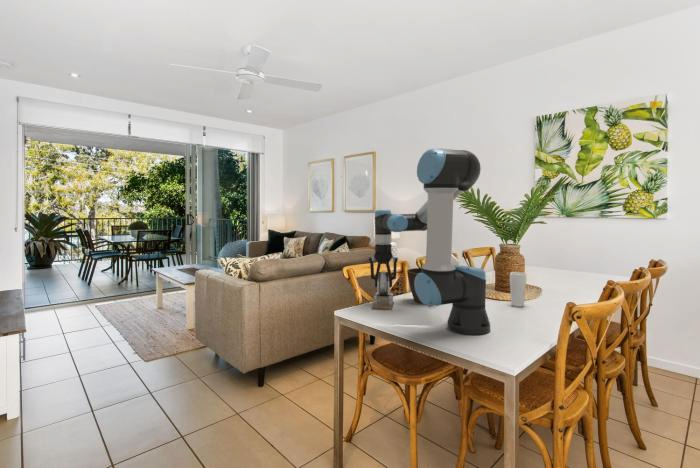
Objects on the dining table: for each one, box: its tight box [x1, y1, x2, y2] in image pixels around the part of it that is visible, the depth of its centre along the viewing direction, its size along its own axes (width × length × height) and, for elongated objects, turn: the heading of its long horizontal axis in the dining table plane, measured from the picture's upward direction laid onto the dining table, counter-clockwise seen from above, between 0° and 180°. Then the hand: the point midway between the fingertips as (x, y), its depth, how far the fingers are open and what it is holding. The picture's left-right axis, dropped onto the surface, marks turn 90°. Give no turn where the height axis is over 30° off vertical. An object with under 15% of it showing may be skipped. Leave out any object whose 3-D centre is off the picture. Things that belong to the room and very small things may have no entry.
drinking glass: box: [509, 271, 527, 308], centre depth 166 cm, size 7×7×15 cm
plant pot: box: [406, 267, 424, 305], centre depth 171 cm, size 15×15×16 cm
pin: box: [378, 271, 389, 296], centre depth 169 cm, size 4×4×12 cm
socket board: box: [370, 292, 395, 311], centre depth 166 cm, size 15×9×5 cm, turn 169°
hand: (383, 294), depth 169 cm, fingers closed on pin, 4 cm apart
